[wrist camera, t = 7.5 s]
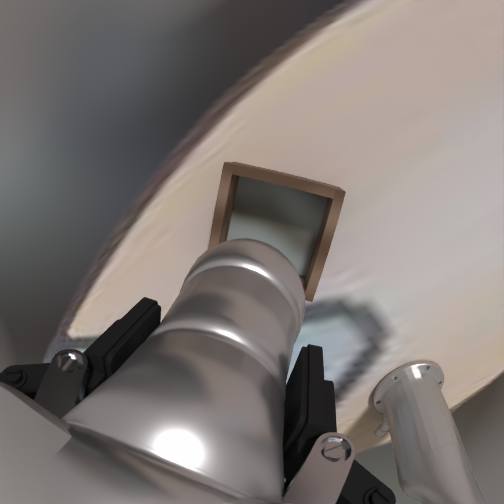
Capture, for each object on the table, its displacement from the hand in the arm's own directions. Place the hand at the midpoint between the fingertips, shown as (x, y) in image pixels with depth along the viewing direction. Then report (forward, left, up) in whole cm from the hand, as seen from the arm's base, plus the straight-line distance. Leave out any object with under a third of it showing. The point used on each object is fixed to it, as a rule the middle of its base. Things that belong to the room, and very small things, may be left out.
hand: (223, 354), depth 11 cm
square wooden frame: (0, 0, -23) cm, 23 cm away
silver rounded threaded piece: (0, 0, -7) cm, 7 cm away
